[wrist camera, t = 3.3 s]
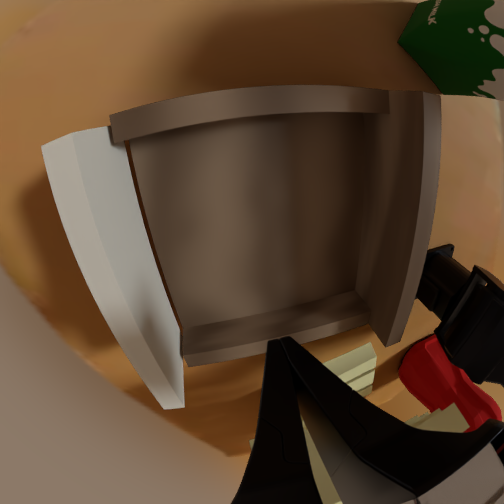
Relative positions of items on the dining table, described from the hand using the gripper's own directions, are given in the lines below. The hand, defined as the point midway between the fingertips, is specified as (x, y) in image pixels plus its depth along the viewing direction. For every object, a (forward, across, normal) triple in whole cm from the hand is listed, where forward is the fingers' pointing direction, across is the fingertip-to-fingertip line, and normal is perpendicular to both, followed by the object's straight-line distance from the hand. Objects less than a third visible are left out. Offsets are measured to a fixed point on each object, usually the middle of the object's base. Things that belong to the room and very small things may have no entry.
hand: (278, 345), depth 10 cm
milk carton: (+12, -20, -15) cm, 28 cm away
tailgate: (+10, +6, 0) cm, 12 cm away
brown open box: (+12, -2, 0) cm, 12 cm away
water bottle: (+12, -26, +28) cm, 40 cm away
